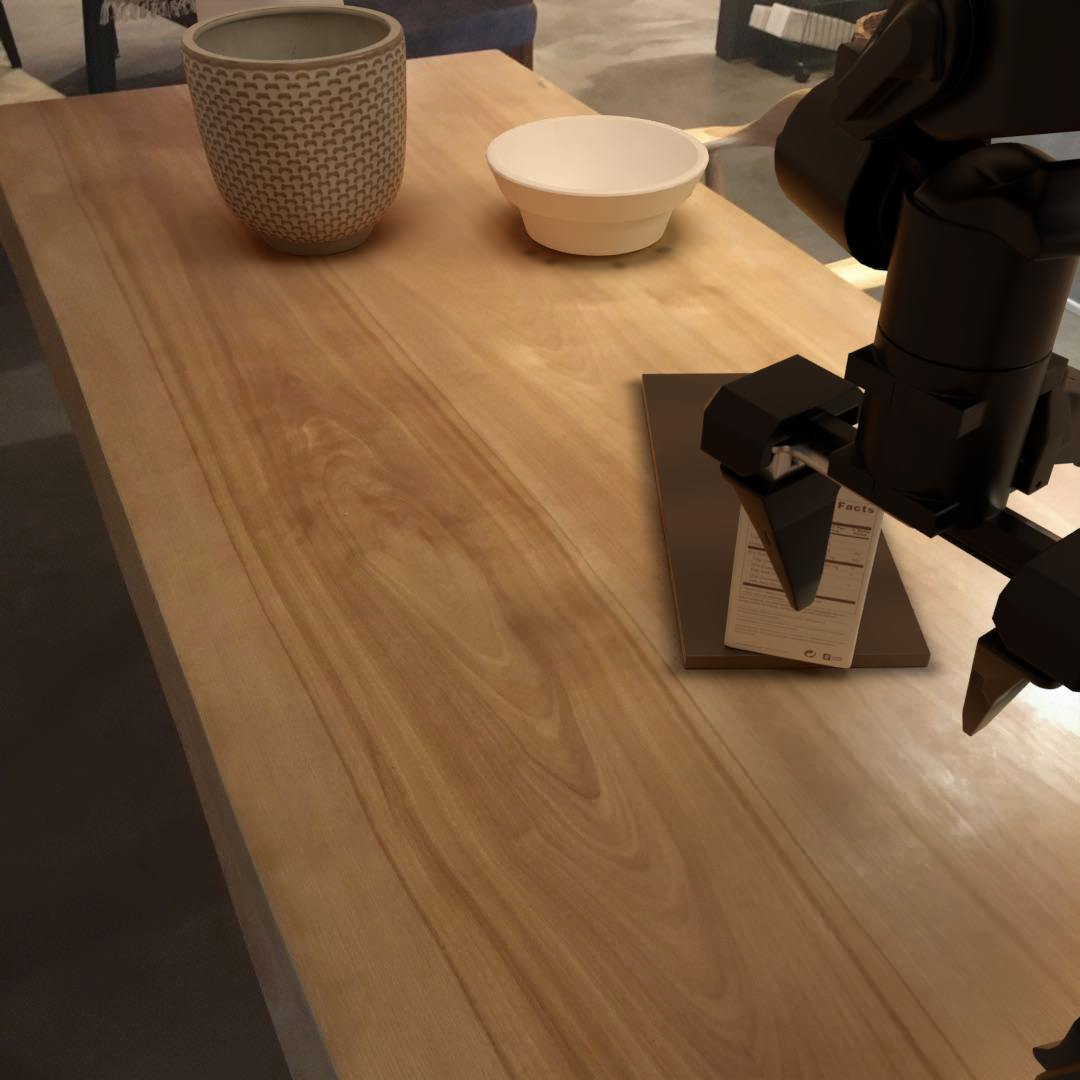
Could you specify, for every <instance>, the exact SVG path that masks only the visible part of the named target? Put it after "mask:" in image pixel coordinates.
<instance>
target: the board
mask: <svg viewBox="0 0 1080 1080" xmlns="http://www.w3.org/2000/svg"><path fill="white" fill-rule="evenodd" d="M751 373H752V372H712V373H711V372H708V373H707V372H705V373H704V372H701V373H697V372H695V373H693V372H691V373H686V372H685V373H642V374H641V390H642V395H643V397H642V398H643V402H644V403H643V404H644V409H645V416H646V423H647V429H648V435H649V442H650V449H651V456H652V462H653V469H654V475H655V482H656V487H657V488H656V489H657V494H658V495H657V496H658V502H659V508H660V514H661V520H662V527H663V534H664V535H663V536H664V540H665V547H666V554H667V560H668V567H669V573H670V580H671V587H672V594H673V600H674V604H675V605H674V606H675V607H674V608H675V613H676V619H677V626H678V633H679V639H680V646H681V653H682V658H683V666H684V669H769V668H771V669H772V668H773V669H777V668H781V669H782V668H783V669H784V668H786V669H787V668H835V667H834V666H829V665H823V664H817V663H811V662H806V661H801V660H795V659H790V658H784V657H779V656H774V655H768V654H763V653H758V652H752V651H747V650H742V649H738V648H732V647H728V646H726V645H725V644H724V641H725V633H726V624H727V616H728V607H729V598H730V590H731V581H732V573H733V564H734V556H735V548H736V540H737V533H738V525H739V517H740V510H741V502H740V500H739V498H738V496H737V495H736V493H735V491H734V489H733V487H732V486H731V485H730V484H729V483H728V482H727V481H725V480H724V479H723V478H722V477H721V475H720V470H719V468H720V462H719V461H717V460H716V459H714V458H713V457H711V456H710V455H708V454H707V453H705V452H704V451H702V450H700V445H701V433H702V423H703V413H704V406H705V405H706V403H707V402H708V400H709V399H710V397H711V396H712V395H713V393H714V392H715V390H716V389H718V388H719V387H721V386H722V385H725V384H727V383H730V382H732V381H734V380H737V379H739V378H741V377H744V376H746V375H748V374H751ZM930 658H931V651H930V649H929V646H928V643H927V641H926V638H925V635H924V633H923V631H922V628H921V625H920V622H919V621H918V617H917V615H916V612H915V610H914V607H913V605H912V602H911V600H910V598H909V594H908V592H907V590H906V588H905V585H904V582H903V580H902V577H901V575H900V572H899V569H898V567H897V564H896V562H895V560H894V556H893V554H892V551H891V549H890V546H889V544H888V542H887V539H886V536H885V534H884V531H883V529H882V528H881V530H880V535H879V539H878V544H877V548H876V553H875V557H874V561H873V566H872V570H871V575H870V579H869V584H868V588H867V593H866V597H865V602H864V606H863V611H862V615H861V620H860V624H859V629H858V634H857V639H856V644H855V649H854V654H853V658H852V663H851V666H850V668H877V667H878V668H882V667H883V668H885V667H886V668H888V667H889V668H890V667H894V668H895V667H897V668H898V667H928V665H929V662H930Z"/></svg>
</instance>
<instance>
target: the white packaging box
mask: <svg viewBox="0 0 1080 1080" xmlns="http://www.w3.org/2000/svg"><path fill="white" fill-rule="evenodd" d="M853 426H854V427H855V428H857V427H858V424H855V425H853ZM884 515H885V512H883V511H881V510H880V509H878V508H877V507H875V506H873V505H872V504H870V503H868V502H867V501H865V500H863V499H862V498H860V497H859V496H857V495H855V494H854V493H852V492H850V491H849V490H847V489H845V488H844V487H841V489H840V490H839V493H838V496H837V499H836V505H835V510H834V516H833V521H832V526H831V532H830V537H829V542H828V548H827V553H826V558H825V564H824V569H823V574H822V578H821V581H820V584H819V588H818V591H817V594H816V597H815V600H814V602H813V603H812V604H811V605H810V606H808V607H806V608H804V609H803V610H801V611H796V610H794V609H793V608H792V607H791V606H790V604H789V602H788V599H787V597H786V595H785V593H784V590H783V588H782V586H781V584H780V582H779V579H778V577H777V575H776V573H775V570H774V568H773V566H772V564H771V562H770V559H769V557H768V555H767V553H766V550H765V549H764V547H763V544H762V542H761V540H760V538H759V536H758V534H757V532H756V530H755V528H754V526H753V525H752V523H751V521H750V519H749V517H748V515H747V513H746V511H745V510H744V508H743V506H742V504H741V510H740V517H739V525H738V533H737V540H736V548H735V556H734V564H733V573H732V581H731V590H730V598H729V607H728V616H727V624H726V633H725V641H724V644H725V645H726V646H728V647H732V648H738V649H742V650H747V651H752V652H758V653H763V654H768V655H774V656H779V657H784V658H790V659H795V660H801V661H806V662H811V663H817V664H823V665H829V666H834V667H833V668H841V669H850V668H851V667H850V666H851V663H852V658H853V654H854V649H855V644H856V639H857V634H858V629H859V624H860V620H861V615H862V611H863V606H864V602H865V597H866V593H867V588H868V584H869V579H870V575H871V570H872V566H873V561H874V557H875V553H876V548H877V544H878V539H879V535H880V530H881V529H882V525H883V520H884Z"/></svg>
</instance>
